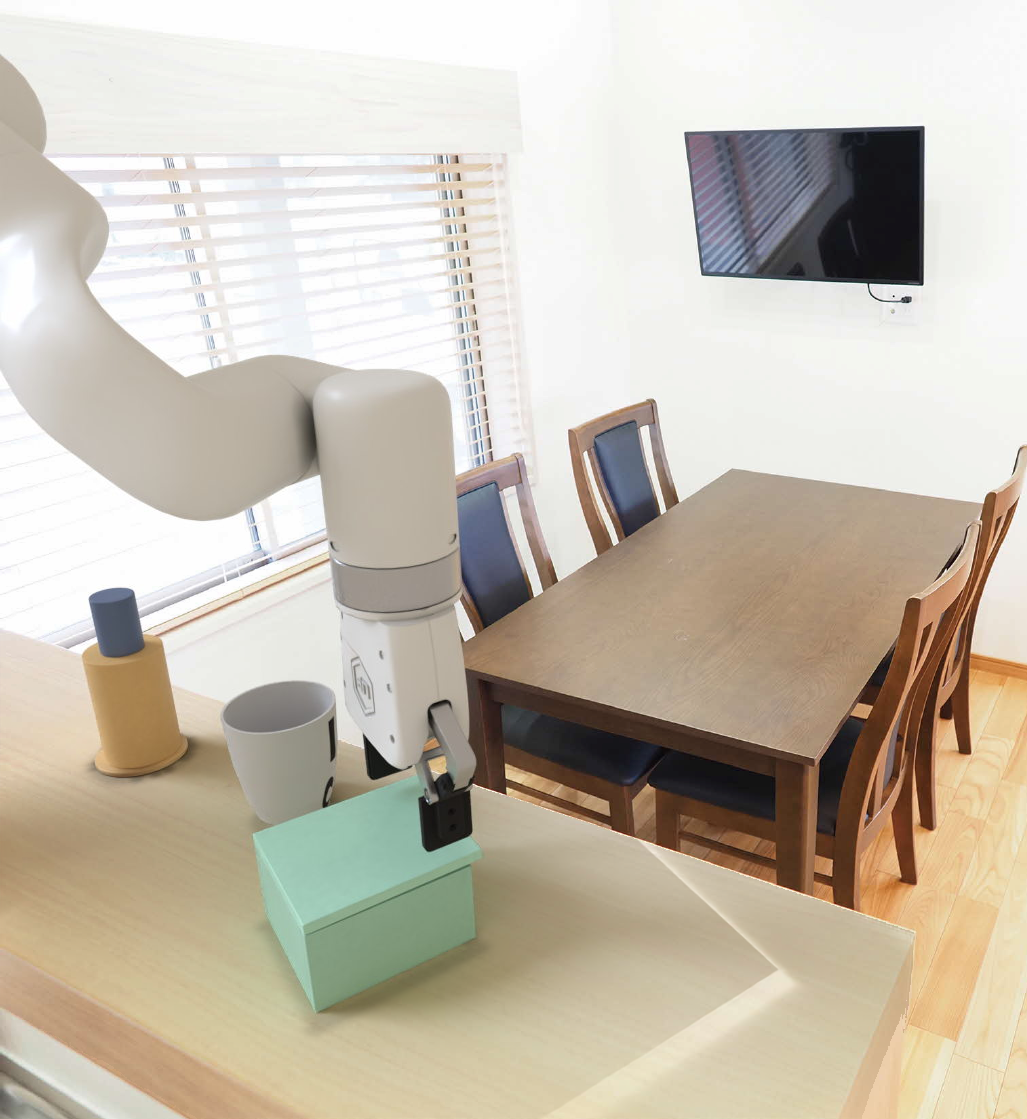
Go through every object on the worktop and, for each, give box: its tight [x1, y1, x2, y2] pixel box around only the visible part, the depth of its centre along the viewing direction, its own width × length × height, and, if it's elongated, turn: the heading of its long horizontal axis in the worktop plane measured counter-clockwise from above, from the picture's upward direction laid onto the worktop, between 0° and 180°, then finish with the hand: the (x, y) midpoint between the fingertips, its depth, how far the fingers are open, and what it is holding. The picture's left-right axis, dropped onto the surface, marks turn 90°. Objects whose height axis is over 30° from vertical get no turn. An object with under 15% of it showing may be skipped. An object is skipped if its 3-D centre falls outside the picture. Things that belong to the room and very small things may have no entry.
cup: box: [219, 679, 339, 826], centre depth 76 cm, size 8×8×10 cm
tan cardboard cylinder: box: [81, 587, 182, 768], centre depth 81 cm, size 6×6×15 cm
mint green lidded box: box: [254, 844, 477, 1014], centre depth 64 cm, size 11×11×7 cm
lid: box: [252, 774, 483, 935], centre depth 63 cm, size 11×11×1 cm
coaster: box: [94, 732, 189, 778], centre depth 84 cm, size 7×7×1 cm
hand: (418, 805), depth 65 cm, fingers open, 9 cm apart
